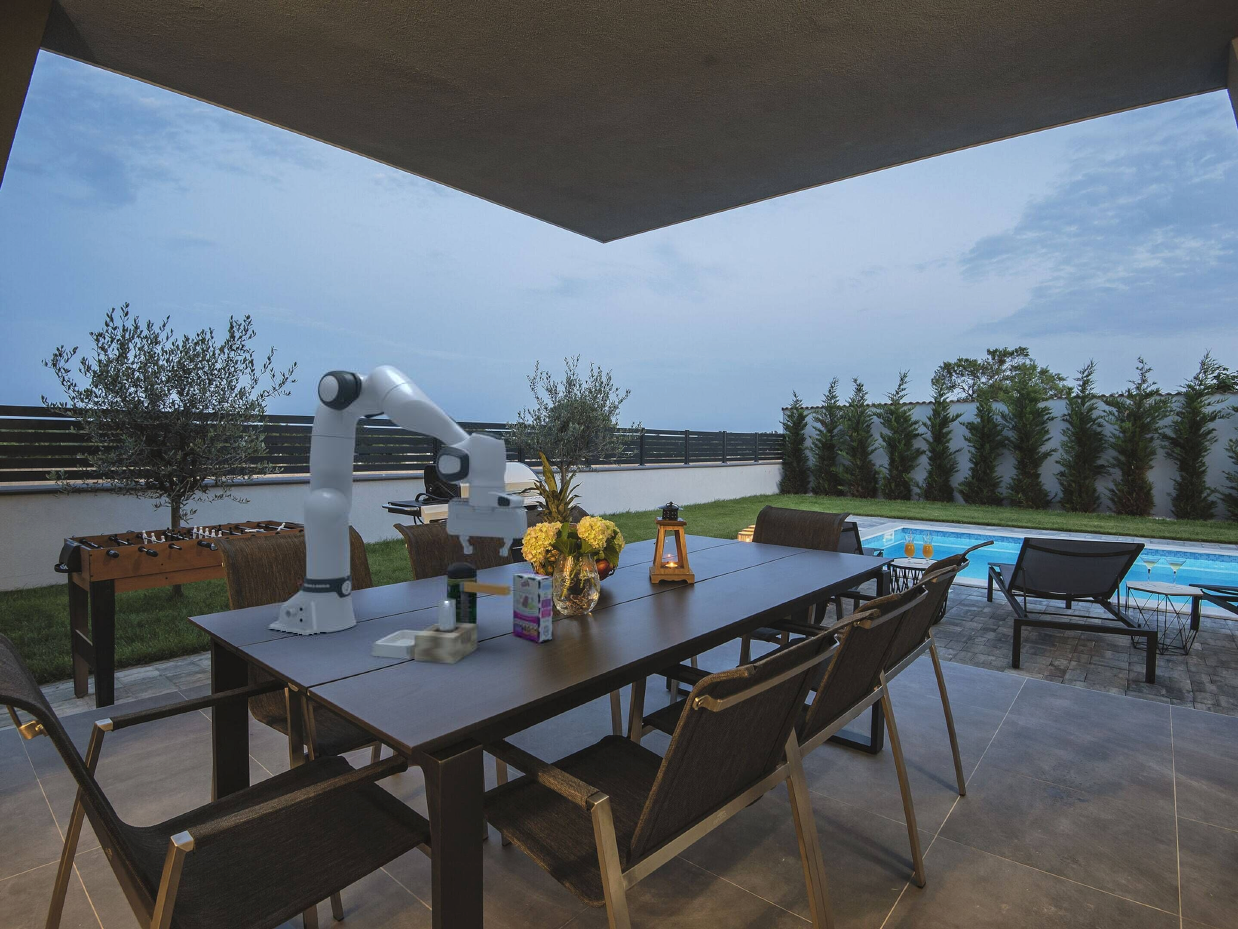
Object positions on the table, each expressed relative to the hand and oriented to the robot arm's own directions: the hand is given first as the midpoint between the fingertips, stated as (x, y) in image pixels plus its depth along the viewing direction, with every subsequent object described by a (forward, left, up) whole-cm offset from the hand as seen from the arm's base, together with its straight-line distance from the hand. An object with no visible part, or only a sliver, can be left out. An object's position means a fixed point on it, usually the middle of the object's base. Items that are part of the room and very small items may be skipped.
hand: (485, 554), depth 150 cm
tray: (-19, -4, -24) cm, 31 cm away
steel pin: (-8, -5, -24) cm, 25 cm away
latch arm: (-2, +3, -10) cm, 11 cm away
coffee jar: (-14, +14, -24) cm, 31 cm away
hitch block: (-8, -2, -24) cm, 25 cm away
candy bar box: (+7, +13, -24) cm, 28 cm away
